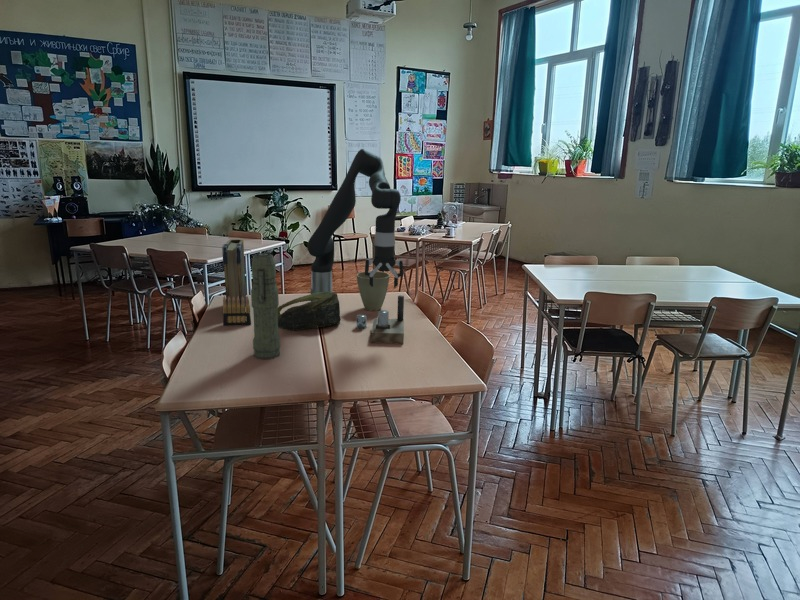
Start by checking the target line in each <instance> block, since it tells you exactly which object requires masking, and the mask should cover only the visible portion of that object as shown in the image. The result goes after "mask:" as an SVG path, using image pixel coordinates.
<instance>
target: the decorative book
mask: <svg viewBox="0 0 800 600" xmlns="http://www.w3.org/2000/svg"><path fill="white" fill-rule="evenodd" d="M221 249H222V250H221V251H222V264H223V271H224V287H225V298H226V305H227V306H228V296H229V297H230V300H231V306H232V298H233V296H234V298H235V304H236V306H237V296H238V297H239V300H240V306H241V299H242V296H243V297H244V303H245V308H246V297H247V287H246V285H247V284H246V266H245V247H244V239H229V240H227V241H226V243H224V244H223V245H222V246H221ZM227 312H228V310H227ZM236 312H237V309H236Z"/></svg>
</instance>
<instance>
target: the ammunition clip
mask: <svg viewBox="0 0 800 600" xmlns="http://www.w3.org/2000/svg"><path fill="white" fill-rule="evenodd" d="M236 309H237V312H236ZM227 310H228V312H227ZM222 326H224V327H225V326H227V327H228V326H229V327H230V326H235V327H236V326H252V318H251V307H250V298H249V296H248V295H246V307H245V303H244V297H243V296H242V299H241V306H240V300H239V297H238V296H237V306H236V304H235V298H234V296H233V298H232V306H231V300H230V297H229V296H228V306H227V305H226V295H224V296H223V297H222Z"/></svg>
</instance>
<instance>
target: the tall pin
mask: <svg viewBox="0 0 800 600" xmlns="http://www.w3.org/2000/svg"><path fill="white" fill-rule="evenodd" d="M377 313H378V314H377V319H378V329H388V319H389V315H390V314H389V311H388V310H382V309H380V310H377Z"/></svg>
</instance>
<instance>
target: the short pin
mask: <svg viewBox="0 0 800 600" xmlns="http://www.w3.org/2000/svg"><path fill="white" fill-rule="evenodd" d="M367 319H368V317H367V314H356V329H357V328H359V329H358V330H365V329H364V328H366V329H367Z"/></svg>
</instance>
